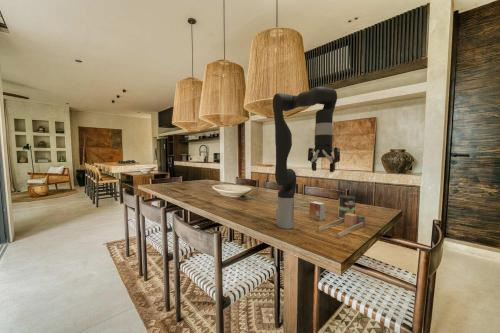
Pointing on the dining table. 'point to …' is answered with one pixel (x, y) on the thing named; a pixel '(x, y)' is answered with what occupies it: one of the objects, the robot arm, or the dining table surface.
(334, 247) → the dining table surface
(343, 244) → the dining table surface
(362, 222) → the guide channel
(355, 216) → the block
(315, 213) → the small box
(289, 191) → the robot arm
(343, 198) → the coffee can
